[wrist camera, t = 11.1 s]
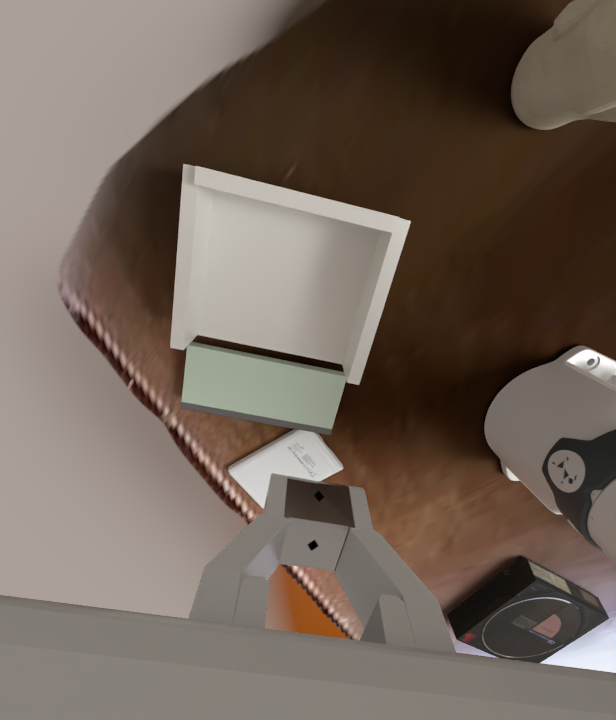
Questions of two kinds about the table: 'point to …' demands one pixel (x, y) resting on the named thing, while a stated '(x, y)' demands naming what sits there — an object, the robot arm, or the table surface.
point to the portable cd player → (526, 614)
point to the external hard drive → (285, 462)
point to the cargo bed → (281, 269)
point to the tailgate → (261, 388)
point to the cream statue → (569, 69)
